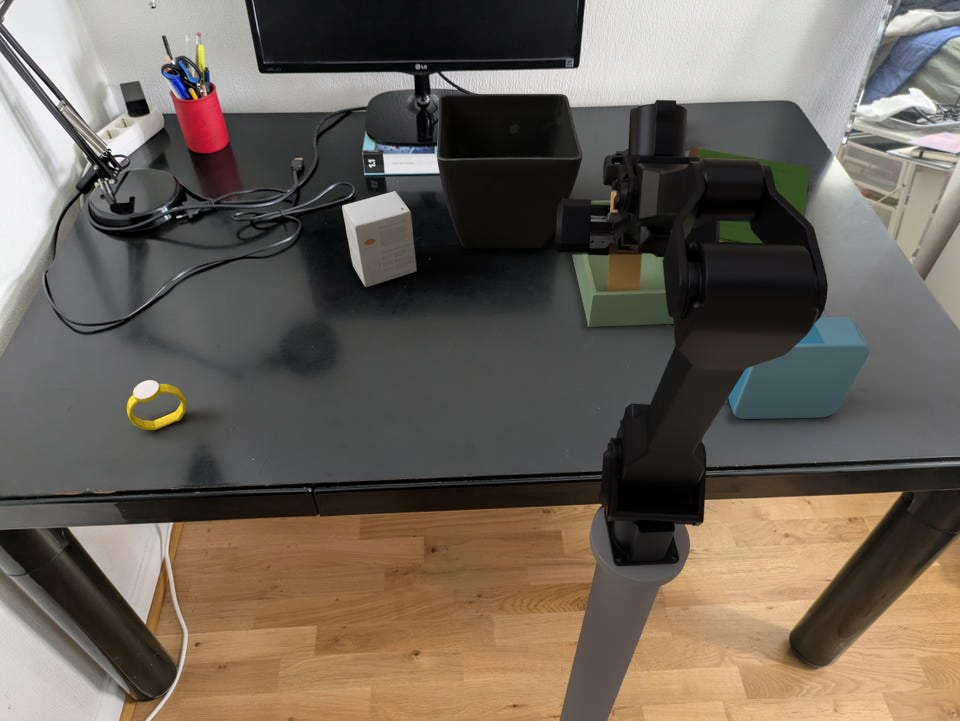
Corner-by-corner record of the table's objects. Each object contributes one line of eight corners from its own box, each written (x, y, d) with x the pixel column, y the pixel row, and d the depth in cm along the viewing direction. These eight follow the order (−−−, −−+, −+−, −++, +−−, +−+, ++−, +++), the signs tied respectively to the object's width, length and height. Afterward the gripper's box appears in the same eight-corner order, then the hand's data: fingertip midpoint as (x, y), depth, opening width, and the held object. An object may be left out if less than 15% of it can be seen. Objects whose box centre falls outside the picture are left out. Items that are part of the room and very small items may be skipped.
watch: (189, 404, 82) (172, 370, 78) (194, 421, 80) (177, 386, 76) (136, 424, 80) (116, 389, 76) (140, 440, 78) (120, 406, 74)
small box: (403, 251, 102) (396, 189, 95) (417, 272, 99) (412, 210, 91) (351, 266, 100) (340, 204, 92) (364, 288, 96) (354, 226, 89)
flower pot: (558, 190, 113) (567, 90, 101) (572, 261, 100) (584, 156, 88) (443, 192, 113) (438, 93, 101) (442, 264, 100) (436, 159, 88)
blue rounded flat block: (819, 389, 83) (858, 315, 74) (833, 418, 80) (876, 344, 71) (720, 390, 83) (747, 317, 74) (730, 420, 80) (760, 346, 71)
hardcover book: (686, 167, 118) (691, 147, 116) (801, 187, 113) (809, 167, 111) (659, 250, 102) (663, 229, 99) (792, 278, 97) (800, 256, 95)
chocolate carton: (638, 307, 90) (644, 218, 81) (606, 307, 90) (609, 218, 82) (638, 277, 95) (643, 190, 87) (607, 277, 96) (610, 190, 87)
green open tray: (687, 323, 91) (696, 291, 87) (588, 327, 91) (592, 295, 87) (652, 229, 106) (658, 198, 102) (566, 232, 105) (569, 201, 101)
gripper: (740, 142, 73) (700, 179, 88) (563, 138, 74) (554, 175, 89) (736, 248, 73) (696, 266, 88) (558, 243, 74) (550, 262, 89)
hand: (624, 240), depth 89 cm, fingers closed on chocolate carton, 4 cm apart
